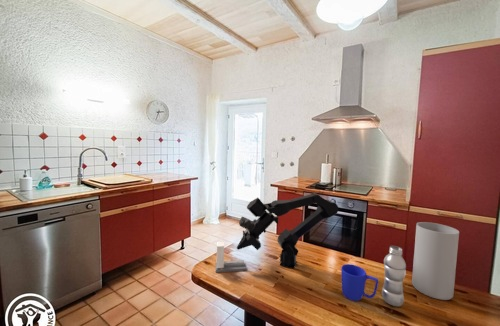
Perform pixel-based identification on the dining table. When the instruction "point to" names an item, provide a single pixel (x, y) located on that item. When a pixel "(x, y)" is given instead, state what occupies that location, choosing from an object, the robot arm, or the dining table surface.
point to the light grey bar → (233, 263)
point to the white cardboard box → (220, 254)
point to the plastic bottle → (394, 277)
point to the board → (231, 268)
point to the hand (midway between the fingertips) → (237, 248)
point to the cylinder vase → (435, 260)
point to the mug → (355, 282)
